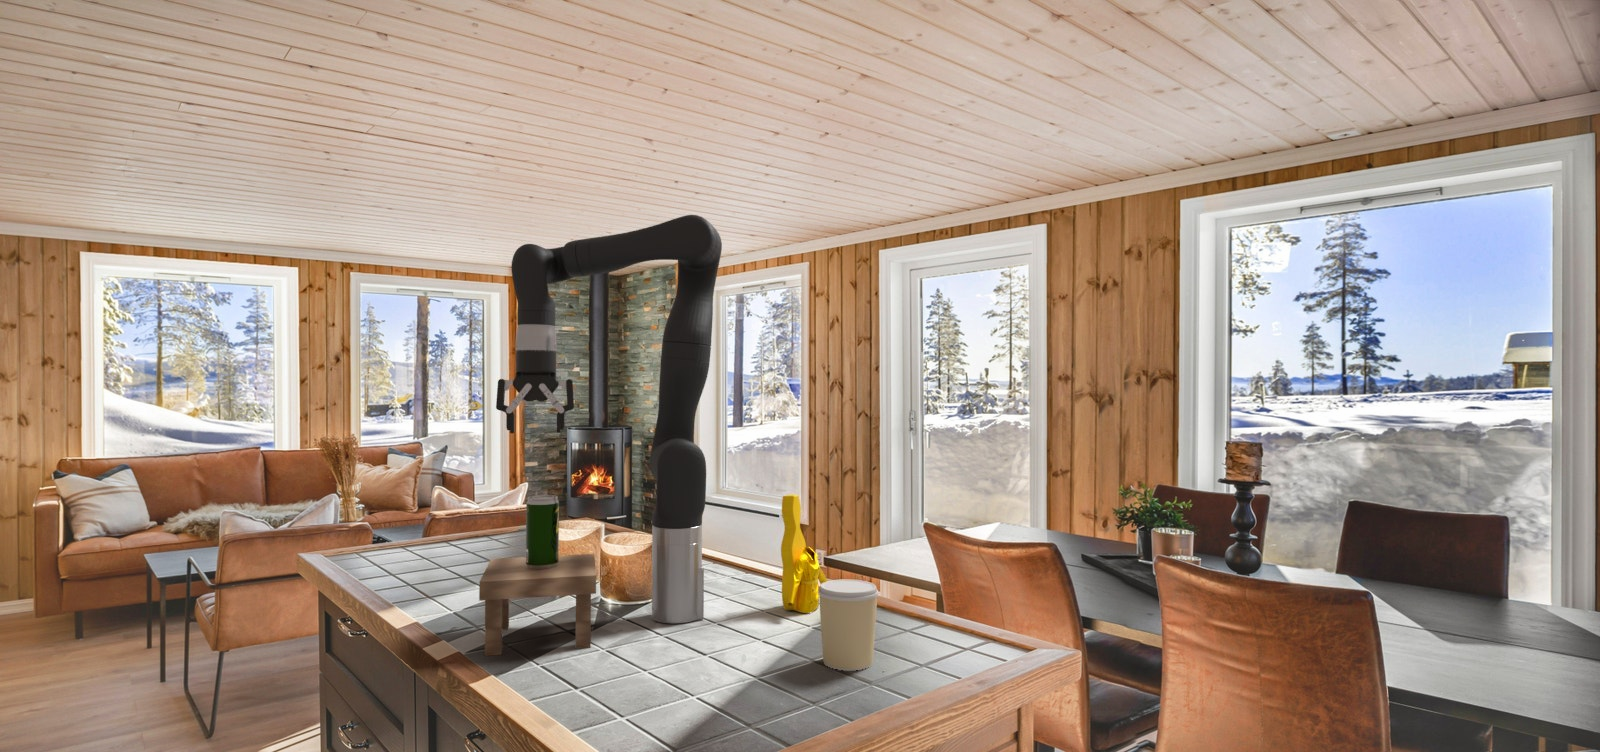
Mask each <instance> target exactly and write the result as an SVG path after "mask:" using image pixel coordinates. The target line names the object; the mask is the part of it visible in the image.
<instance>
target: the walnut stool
mask: <svg viewBox="0 0 1600 752" xmlns="http://www.w3.org/2000/svg"><path fill="white" fill-rule="evenodd" d="M596 570H597V568H596V558H595V553H583V554H565V555H563V554H562V555H559V560H558V564H557V566H556V567H554V568H550V569H542V570H535V569H529V568H528V567H527V565H526V556H524V557H523V556H521V557H503V558H501V557H499V558H491V559H490V560H489V562H488V565H487V566H486V568H485V570H484V572H483V574H482V576H481V577H480V579H479V584H478V585H479V587H478V588H479V591H478V592H479V593H478V594H479V595H478V596H479V597H478V599H479V601H482V602H483V601H484V656H497V655H499V656H500V655H502V652H503V651H502V650H503V631H505V630H509V628H510V600H512V599H529V598H547V597H563V596H575V649H588V648H590V649H591V648H592V647H591V646H592V645H591V643H592V642H591V641H592V640H591V639H592V638H591V636H592V634H591V633H592V632H591V631H592V626H591V625H592V624H591V623H592V622H591V621H592V609H591V608H592V602H591V601H592V595H593V594H597V571H596Z"/></svg>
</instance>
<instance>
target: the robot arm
mask: <svg viewBox="0 0 1600 752" xmlns="http://www.w3.org/2000/svg"><path fill="white" fill-rule="evenodd" d="M722 248H723V243H722V239H721V235H720V233H719V232H718V230H717V229H716V227H715V226H713V224H712V223H710V221H709V220H707V219H706V218H704V217H702V216H700V215H698V214H687V215H683V216H680V217H676V218H672V219H670V220H667V221H664V222H662V223H658V224H654V225H651V226H647V227H644V228H640V229H636V230H632V231H631V230H630V231H627V232H621V233H615V234H610V235H604V236H603V235H602V236H595V237H589V238H582V239H576V240H571V241H568V242H567V243H565V244H564V246H559V247H555V248H554V247H553V248H545V247H542V246H541V245H537V244H534V243H525V244H522V245H520V246H519V247H518V248H517V249H516V250H515V252H514V253H513V256H512V259H511V276H512V277H511V278H512V283H513V288H514V293H515V296H516V300H517V311H516V313H517V314H516V316H517V318H516V319H517V320H516V321H517V322H516V323H517V324H516V325H517V327H516V333H515V344H514V346H515V375H514V379H513V380H512V379H504V378H499V379H498V380H497V390H496V404H495V409H496V410H498V411H500V412H504V413H505V414H506V416H505V417H506V423H505V424H506V425H505V426H506V430H507V431H509V433H510V434H515V433H516V431H515V429H516V425H515V423H516V413H515V410H516V409H517V407H518V406H519V405H520V404H521V403H522V402H523V400H524V401H526V402H534V401H537V402H546V401H549V402H550V404H551V406H553V407H554V408H555V410H556V411H557V413H556V433H558V434H559V433H561V432H562V430H564V428H565V414H566V413H567V412H569V411H572V410H574V408H575V401H574V384H573V380H572V379H569V378H568V379H565V380H564V379H562V380H561V379H560V380H558V378H557V348H558V346H557V344H558V343H557V333H556V332H557V331H556V304H555V300H554V299H553V297H552V296H551V295H550V293H549V287H548V286H549V285H551V284H557V283H561V282H564V281H567V280H568V281H569V280H571V279H574V278H577V277H579V278H580V277H588V276H595V275H596V276H597V275H603V274H608V273H614V272H615V271H617V272H618V271H619V270H623V269H625V268H628V267H631V266H633V265H636V264H640V263H644V262H649V261H650V262H651V261H658V260H659V261H661V260H663V261H677V284H676V285H677V286H676V293H675V298H674V301H673V304H672V307H671V309H670V312H669V314H668V317H667V320H666V323H665V326H664V329H663V335H662V343H661V354H660V369H659V382H658V383H659V384H658V385H659V386H658V412H657V418H656V423H655V424H656V425H655V430H654V433H653V434H654V435H653V440H652V445H651V450H650V453H649V460H648V461H649V464H648V465H649V469H650V472H651V474H652V476H653V477H654V479H655V480H656V501H655V507H654V509H653V511H652V515H651V517H652V518H651V519H652V520H651V521H652V522H651V523H652V525H651V526H652V527H651V530H652V531H651V532H652V534H651V535H652V536H651V539H652V540H651V541H652V543H651V545H652V547H651V548H652V549H651V558H652V559H651V619H652V620H653V621H655V622H658V623H662V624H686V623H690V622H694V621H698V620H704V614H705V613H704V604H705V603H704V602H705V601H704V599H705V595H704V593H705V591H704V590H705V587H704V585H705V584H704V583H705V576H704V575H705V574H704V572H705V569H704V566H703V565H702V564H703V514H704V511H705V508H706V492H707V463H706V462H707V461H706V457H705V455H704V453H703V450H702V449H701V448H700V446H698V445H697V444H696V443H695V423H696V414H697V409H698V406H699V403H700V399H701V397H702V395H703V392H704V388H705V386H706V382H707V380H708V379H707V378H708V374H709V371H710V361H711V351H712V350H711V349H712V338H713V337H712V333H713V320H714V318H713V317H714V316H713V315H714V306H713V305H714V292H715V287H716V281H717V280H716V279H717V276H718V271H719V267H720V266H719V265H720V261H721V256H722V250H723V249H722ZM511 386H513V387H514V389H515V391H516V392H517V395H516V396H515V398H513V400H512V401H511V403H510V404H509V405H506V404H505V397H506V391H509V390H510V387H511ZM559 386H560V387H561V388H562V391H566V401H567V404H564V405H562V403H561V402H560V401H559V399H557V397H556V396H555V395H554V392H555V391H556V390H557V388H558V387H559Z"/></svg>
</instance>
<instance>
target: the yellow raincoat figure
mask: <svg viewBox="0 0 1600 752" xmlns="http://www.w3.org/2000/svg"><path fill="white" fill-rule="evenodd" d="M781 514H782V515H781V516H782V519H783V521H782V522H783V523H784V531H783V532H784V533H783V536H782V540H781V545H780V555H781V562H782V576H781V577H782V579H781V598H782V605H783V606H782V607H783V610H785V611H796V612H799V613H803V614H811V613H810V612H812V613H813V612H815V611H816V610H817V608H819V607H820V598H819V594H818V590H819V588H820V586H819V583H820V585H821V584H822V583H824V582H827V581H828V579H827V577H826V575H825V574H824V571H823V570H822V569H821V566H820V564H819V561H818V558H819V555H818V554H817V553H816V552H815V551H814V550H813V548H811V547H810V546H807V544H806V539H805V537H804V534H803V532H802V528H801V517H802V515H801V514H802V506H801V499H800V497H799V494H786V495H782V502H781ZM814 610H815V611H814Z"/></svg>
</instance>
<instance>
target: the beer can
mask: <svg viewBox="0 0 1600 752" xmlns="http://www.w3.org/2000/svg"><path fill="white" fill-rule="evenodd" d="M525 505H526V506H525V507H526V509H525V512H526V513H525V514H526V515H525V517H526V518H525V520H526V521H525V557H526V565H527V567H528V568H529V569H535V570H542V569H550V568H554V567H556V566H557V564H558V560H559V556H560V555H559V554H560V553H559V552H560V551H559V550H560V549H559V547H560V546H559V543H560V542H559V539H560V538H559V537H560V531H559V530H560V524H559V523H560V501H559V499H558V495H555V494H554V495H552V494H538V495H531V496H527V501H526V503H525Z"/></svg>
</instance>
